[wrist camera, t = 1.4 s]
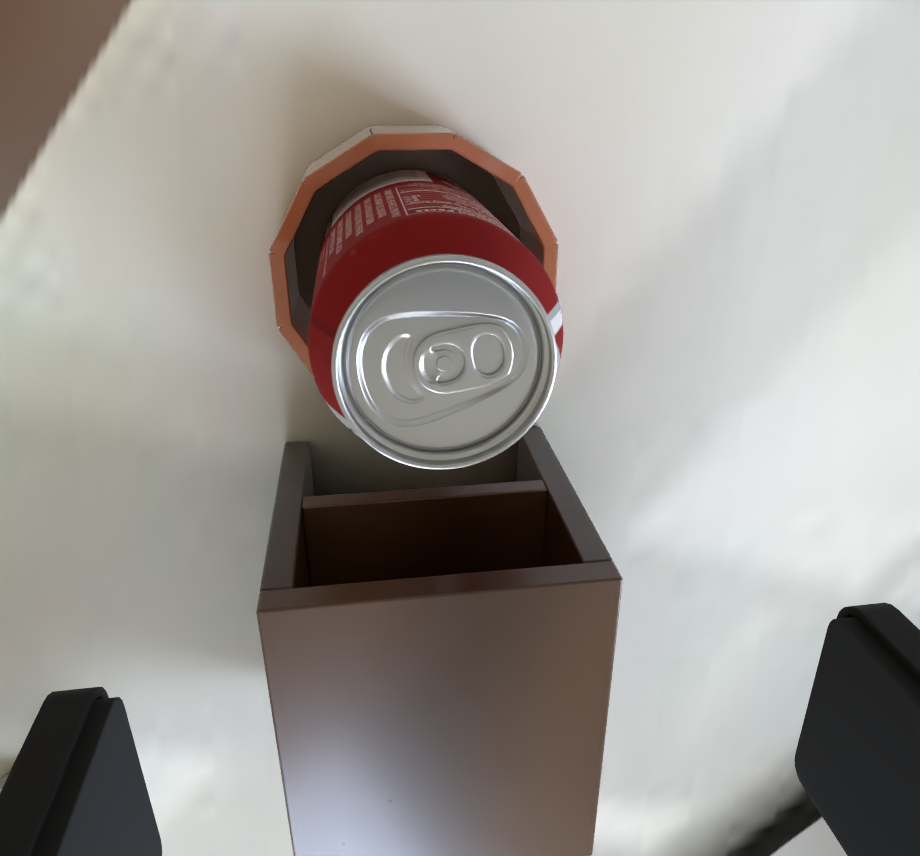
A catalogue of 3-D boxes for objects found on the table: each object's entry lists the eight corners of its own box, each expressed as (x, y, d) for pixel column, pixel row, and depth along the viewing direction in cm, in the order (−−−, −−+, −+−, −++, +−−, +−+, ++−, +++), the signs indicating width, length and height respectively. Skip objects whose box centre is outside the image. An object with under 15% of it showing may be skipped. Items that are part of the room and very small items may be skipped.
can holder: (535, 123, 27) (564, 130, 24) (526, 369, 31) (549, 407, 28) (267, 126, 26) (255, 135, 22) (295, 381, 30) (287, 422, 27)
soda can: (300, 185, 27) (269, 259, 16) (482, 151, 27) (569, 201, 17) (343, 357, 30) (340, 515, 19) (506, 324, 30) (593, 462, 20)
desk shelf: (540, 425, 33) (624, 578, 23) (529, 654, 38) (592, 856, 28) (284, 442, 31) (255, 611, 21) (312, 676, 37) (299, 896, 27)
